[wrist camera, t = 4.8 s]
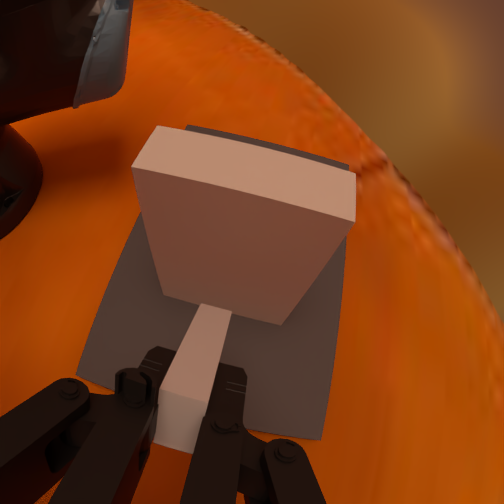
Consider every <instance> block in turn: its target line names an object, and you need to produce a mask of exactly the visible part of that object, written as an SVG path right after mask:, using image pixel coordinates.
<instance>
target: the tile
mask: <svg viewBox="0 0 504 504" xmlns="http://www.w3.org/2000/svg"><path fill="white" fill-rule="evenodd" d="M131 169H132V173H133V178H134V183H135V187H136V192H137V196H138V201H139V205H140V209H141V213H142V218H143V222H144V226H145V230H146V234H147V238H148V241H149V245H150V249H151V253H152V256H153V260H154V264H155V267H156V271H157V274H158V278H159V281H160V285H161V288H162V292H163V295H165V296H169V297H172V298H176V299H179V300H183V301H187V302H190V303H194V304H197V305H200V304H201V303H203V304H206V305H210V306H214V307H217V308H221V309H225V310H229V311H232V314H236V315H240V316H244V317H248V318H252V319H256V320H260V321H264V322H268V323H272V324H277V325H282V324H283V322H284V321H285V320H286V318H287V317H288V316H289V314H290V313H291V312H292V310H293V309H294V308H295V306H296V305H297V304H298V302H299V301H300V300H301V298H302V297H303V295H304V294H305V293H306V291H307V290H308V289H309V287H310V286H311V285H312V283H313V282H314V280H315V279H316V278H317V276H318V275H319V273H320V272H321V271H322V269H323V268H324V266H325V265H326V264H327V262H328V261H329V259H330V258H331V257H332V255H333V254H334V252H335V251H336V249H337V248H338V247H339V245H340V244H341V242H342V241H343V239H344V238H345V236H346V235H347V233H348V232H349V230H350V229H351V228H352V226H353V225H354V223H355V209H356V174H355V173H352V172H349V171H346V170H343V169H340V168H336V167H333V166H330V165H326V164H323V163H320V162H316V161H313V160H309V159H306V158H302V157H298V156H295V155H291V154H287V153H284V152H280V151H276V150H272V149H268V148H264V147H260V146H256V145H252V144H247V143H243V142H239V141H234V140H230V139H225V138H221V137H216V136H211V135H206V134H201V133H196V132H191V131H186V130H180V129H175V128H169V127H163V126H158V125H157V127H156V128H155V130H154V131H153V133H152V134H151V136H150V137H149V139H148V140H147V142H146V144H145V145H144V147H143V148H142V150H141V151H140V153H139V155H138V156H137V158H136V160H135V161H134V163H133V164H132V166H131Z"/></svg>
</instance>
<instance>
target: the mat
mask: <svg viewBox="0 0 504 504" xmlns="http://www.w3.org/2000/svg"><path fill="white" fill-rule="evenodd" d="M185 130H186V131H191V132H196V133H201V134H206V135H211V136H216V137H221V138H225V139H230V140H234V141H239V142H243V143H247V144H252V145H256V146H260V147H264V148H268V149H272V150H276V151H280V152H284V153H287V154H291V155H295V156H298V157H302V158H306V159H309V160H313V161H316V162H320V163H323V164H326V165H330V166H333V167H336V168H340V169H343V170H346V171H349V165H348V164H344V163H341V162H338V161H335V160H331V159H328V158H325V157H321V156H318V155H315V154H311V153H308V152H304V151H300V150H297V149H293V148H289V147H286V146H282V145H278V144H274V143H270V142H266V141H262V140H258V139H254V138H249V137H245V136H241V135H236V134H232V133H227V132H223V131H218V130H213V129H208V128H203V127H198V126H193V125H187V126H186V128H185ZM345 250H346V236H345V238H344V239H343V241H342V242H341V244H340V245H339V247H338V248H337V249H336V251H335V252H334V254H333V255H332V257H331V258H330V259H329V261H328V262H327V264H326V265H325V266H324V268H323V269H322V271H321V272H320V273H319V275H318V276H317V278H316V279H315V280H314V282H313V283H312V285H311V286H310V287H309V289H308V290H307V291H306V293H305V294H304V295H303V297H302V298H301V300H300V301H299V302H298V304H297V305H296V306H295V308H294V309H293V310H292V312H291V313H290V314H289V316H288V317H287V318H286V320H285V321H284V322H283V324H282V325H277V324H272V323H268V322H264V321H260V320H256V319H252V318H248V317H244V316H240V315H236V314H231V317H230V321H229V325H228V329H227V333H226V337H225V341H224V345H223V349H222V353H221V357H220V361H219V362H220V363H224V364H228V365H232V366H236V367H240V368H243V369H244V371H245V373H246V375H247V377H248V378H247V386H246V395H245V404H244V412H243V424H244V427H245V428H246V429H251V430H256V431H261V432H266V433H272V434H278V435H284V436H291V437H298V438H305V439H313V440H321V437H322V432H323V426H324V421H325V415H326V410H327V404H328V398H329V392H330V386H331V379H332V372H333V366H334V358H335V351H336V343H337V335H338V327H339V318H340V309H341V299H342V288H343V277H344V264H345ZM199 306H200V305H197V304H194V303H190V302H187V301H183V300H179V299H176V298H172V297H169V296H165V295H163V292H162V288H161V285H160V281H159V278H158V274H157V271H156V267H155V264H154V260H153V256H152V253H151V249H150V245H149V241H148V238H147V234H146V230H145V226H144V222H143V218H142V213H141V212H140V214H139V217H138V219H137V221H136V223H135V225H134V227H133V229H132V231H131V233H130V236H129V238H128V240H127V242H126V244H125V247H124V249H123V251H122V253H121V256H120V258H119V260H118V262H117V265H116V267H115V269H114V272H113V274H112V277H111V279H110V281H109V284H108V286H107V289H106V291H105V294H104V296H103V299H102V301H101V304H100V306H99V309H98V312H97V314H96V317H95V320H94V322H93V325H92V328H91V330H90V333H89V336H88V339H87V342H86V345H85V348H84V350H83V353H82V356H81V359H80V362H79V366H78V369H77V372H76V375H77V376H79V377H81V378H84V379H86V380H88V381H91V382H93V383H96V384H98V385H101V386H103V387H106V388H108V389H111V390H114V391H115V374H116V373H117V372H118V371H119V370H121V369H124V368H138V367H139V365H140V364H141V362H142V360H143V359H144V357H145V356H146V354H147V352H148V351H149V350H151V349H152V348H154V347H156V346H161V347H164V348H167V349H170V350H174V351H178V349H179V347H180V345H181V343H182V341H183V339H184V337H185V335H186V333H187V331H188V329H189V327H190V325H191V323H192V320H193V318H194V316H195V314H196V312H197V310H198V308H199Z"/></svg>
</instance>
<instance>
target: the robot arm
mask: <svg viewBox="0 0 504 504" xmlns="http://www.w3.org/2000/svg"><path fill="white" fill-rule="evenodd" d="M133 1H134V0H0V239H1V238H2V237H3V236H5V235H6V234H7V233H9V232H10V231H11V230H12V229H13V228H14V227H15V226H16V225H17V224H18V223H19V222H20V221H21V220H22V219H23V217H24V216H25V215H26V214H27V212H28V211H29V209H30V208H31V206H32V205H33V203H34V201H35V199H36V197H37V195H38V193H39V190H40V187H41V183H42V176H43V171H42V166H41V163H40V161H39V159H38V156H37V154H36V152H35V150H34V149H33V147H32V146H31V145H30V144H29V143H28V142H26V140H25V139H24V138H23V137H22V136H21V135H20V134H19V133H18V132H17V131H16V130H15V129H13V128H12V127H11V126H10V125H9V124H10V123H14V122H17V121H20V120H23V119H27V118H30V117H34V116H37V115H41V114H44V113H48V112H52V111H56V110H60V109H64V108H68V107H73V109H76V108H78V107H79V106H80V105H82V104H86V103H90V102H94V101H98V100H102V99H107V98H109V97H112V96H113V95H115V94H116V93H117V92H118V91H119V90H120V89H121V87H122V85H123V83H124V80H125V74H126V66H127V56H128V46H129V36H130V26H131V18H132V9H133ZM231 314H232V311H229V310H225V309H221V308H217V307H214V306H210V305H206V304H203V303H201V304H200V306H199V308H198V310H197V312H196V314H195V316H194V318H193V320H192V323H191V325H190V327H189V329H188V331H187V333H186V335H185V337H184V339H183V341H182V343H181V345H180V347H179V349H178V351H174V350H170V349H167V348H164V347H161V346H156V347H154V348H152V349H151V350H149V351H148V352H147V354H146V356H145V357H144V359H143V360H142V362H141V364H140V365H139V367H138V368H124V369H121V370H119V371H118V372H117V373H116V374H115V394H112V395H101V394H94V393H89V390H88V387H87V386H86V385H85V384H84V383H83V382H81V381H79V380H77V379H73V378H62V379H59V380H57V381H55V382H53V383H52V384H50V385H49V386H47V387H46V388H44V389H43V390H41V391H40V392H38V393H37V394H35V395H34V396H32V397H31V398H29V399H27V400H26V401H24V402H23V403H21V404H20V405H18V406H17V407H15V408H14V409H12V410H11V411H9V412H8V413H6V414H5V415H3V416H2V417H0V504H34V503H35V502H36V501H37V500H38V499H39V498H41V497H42V496H43V495H44V494H45V493H46V492H47V491H48V490H49V489H50V488H52V487H53V486H54V485H55V484H56V483H57V482H58V481H59V480H60V479H61V478H62V477H63V479H62V480H61V482H60V484H59V485H58V487H57V489H56V491H55V492H54V494H53V496H52V497H51V499H50V501H49V503H48V504H130V503H131V501H132V498H133V495H134V493H135V490H136V488H137V485H138V482H139V480H140V477H141V475H142V472H143V470H144V467H145V464H146V462H147V459H148V457H149V454H150V445H151V443H152V440H153V438H154V443H156V444H159V445H162V446H166V447H169V448H172V449H176V450H179V451H183V452H187V453H190V454H193V455H192V459H191V463H190V467H189V470H188V474H187V478H186V482H185V485H184V489H183V493H182V496H181V500H180V504H236V496H237V491H238V492H240V493H242V494H244V500H245V504H326V501H325V499H324V496H323V494H322V492H321V489H320V487H319V484H318V482H317V479H316V477H315V474H314V472H313V470H312V467H311V465H310V462H309V460H308V457H307V455H306V453H305V451H304V450H303V448H302V447H301V446H300V445H298V444H297V443H296V442H293V441H291V440H288V439H281V438H280V439H274V440H272V441H270V442H268V443H266V442H264V441H262V440H260V439H258V438H256V437H254V436H252V435H251V434H250V433H249V432H248V431H247V430H246V429H245V427H244V424H243V412H244V404H245V395H246V386H247V378H248V377H247V375H246V373H245V371H244V369H243V368H240V367H236V366H232V365H228V364H224V363H220V362H219V361H220V357H221V353H222V349H223V345H224V341H225V337H226V333H227V329H228V325H229V321H230V317H231Z"/></svg>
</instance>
